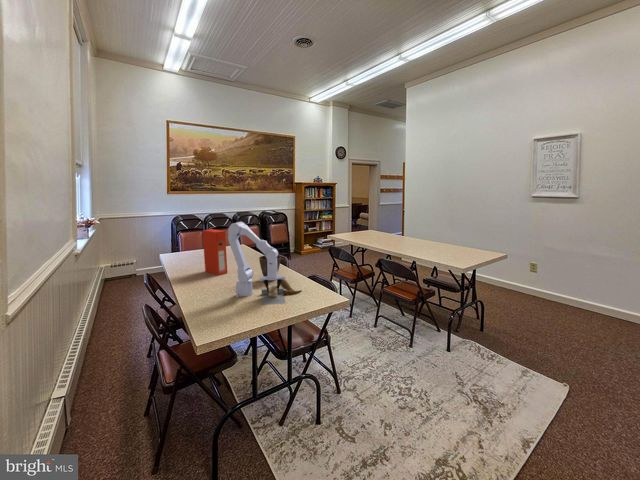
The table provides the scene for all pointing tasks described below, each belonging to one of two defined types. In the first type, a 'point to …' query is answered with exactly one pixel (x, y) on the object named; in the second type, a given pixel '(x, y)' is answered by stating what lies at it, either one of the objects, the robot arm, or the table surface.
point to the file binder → (215, 251)
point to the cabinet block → (272, 290)
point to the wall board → (275, 299)
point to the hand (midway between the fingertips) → (272, 292)
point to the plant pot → (264, 265)
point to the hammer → (290, 290)
